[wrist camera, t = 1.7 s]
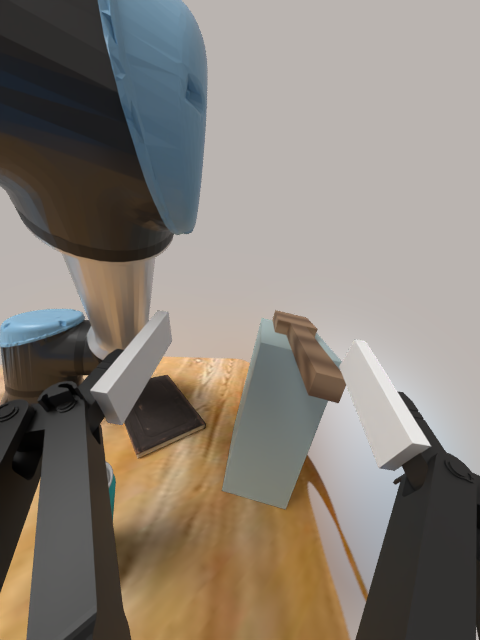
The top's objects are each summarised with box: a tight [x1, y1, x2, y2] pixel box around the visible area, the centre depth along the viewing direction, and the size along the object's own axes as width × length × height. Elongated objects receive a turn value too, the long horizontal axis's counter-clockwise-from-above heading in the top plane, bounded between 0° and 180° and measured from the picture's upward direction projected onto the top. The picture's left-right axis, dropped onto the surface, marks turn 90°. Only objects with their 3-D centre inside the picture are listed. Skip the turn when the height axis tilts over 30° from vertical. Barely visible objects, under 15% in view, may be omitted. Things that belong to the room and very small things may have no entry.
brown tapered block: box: [273, 311, 346, 403], centre depth 31 cm, size 27×7×2 cm, turn 173°
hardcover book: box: [124, 375, 206, 458], centre depth 52 cm, size 16×23×2 cm
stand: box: [222, 318, 342, 509], centre depth 40 cm, size 16×12×30 cm
